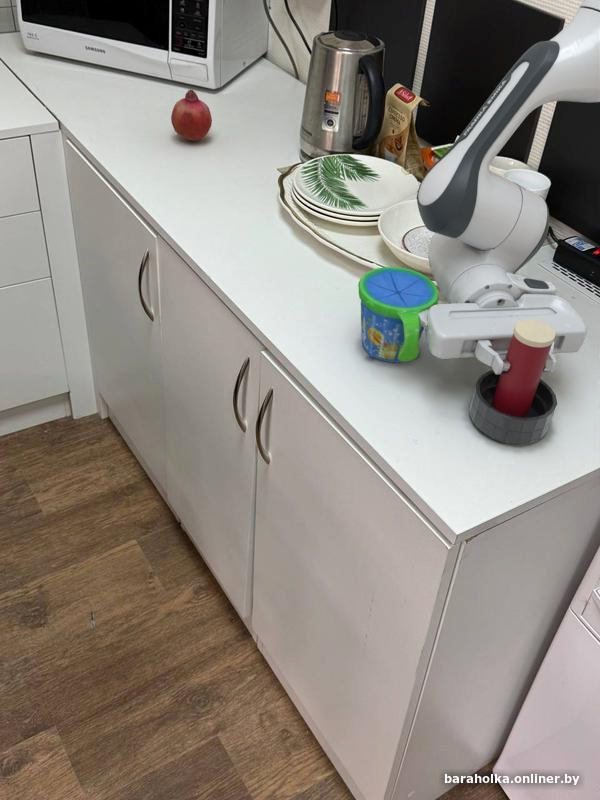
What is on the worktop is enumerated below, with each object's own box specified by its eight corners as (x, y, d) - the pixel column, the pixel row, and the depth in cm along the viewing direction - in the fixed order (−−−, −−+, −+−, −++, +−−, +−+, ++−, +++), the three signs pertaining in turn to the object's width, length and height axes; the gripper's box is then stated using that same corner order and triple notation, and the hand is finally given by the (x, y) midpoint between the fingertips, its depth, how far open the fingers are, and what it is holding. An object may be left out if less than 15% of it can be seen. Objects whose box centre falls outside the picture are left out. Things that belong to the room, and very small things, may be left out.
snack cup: (436, 383, 107) (451, 321, 101) (358, 383, 106) (368, 320, 100) (414, 317, 119) (425, 257, 113) (343, 316, 118) (351, 255, 112)
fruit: (212, 133, 166) (213, 84, 160) (210, 149, 160) (210, 98, 154) (173, 131, 166) (172, 81, 159) (170, 146, 160) (168, 96, 153)
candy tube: (505, 388, 104) (528, 314, 96) (536, 407, 101) (563, 332, 94) (484, 404, 101) (507, 328, 93) (516, 423, 99) (541, 347, 91)
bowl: (496, 385, 108) (504, 359, 105) (561, 423, 103) (571, 396, 100) (452, 417, 102) (460, 390, 99) (519, 459, 97) (528, 431, 94)
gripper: (416, 286, 103) (450, 351, 92) (564, 281, 106) (612, 343, 96) (408, 327, 107) (440, 393, 96) (550, 321, 110) (596, 384, 100)
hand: (527, 368), depth 96 cm, fingers closed on candy tube, 4 cm apart
